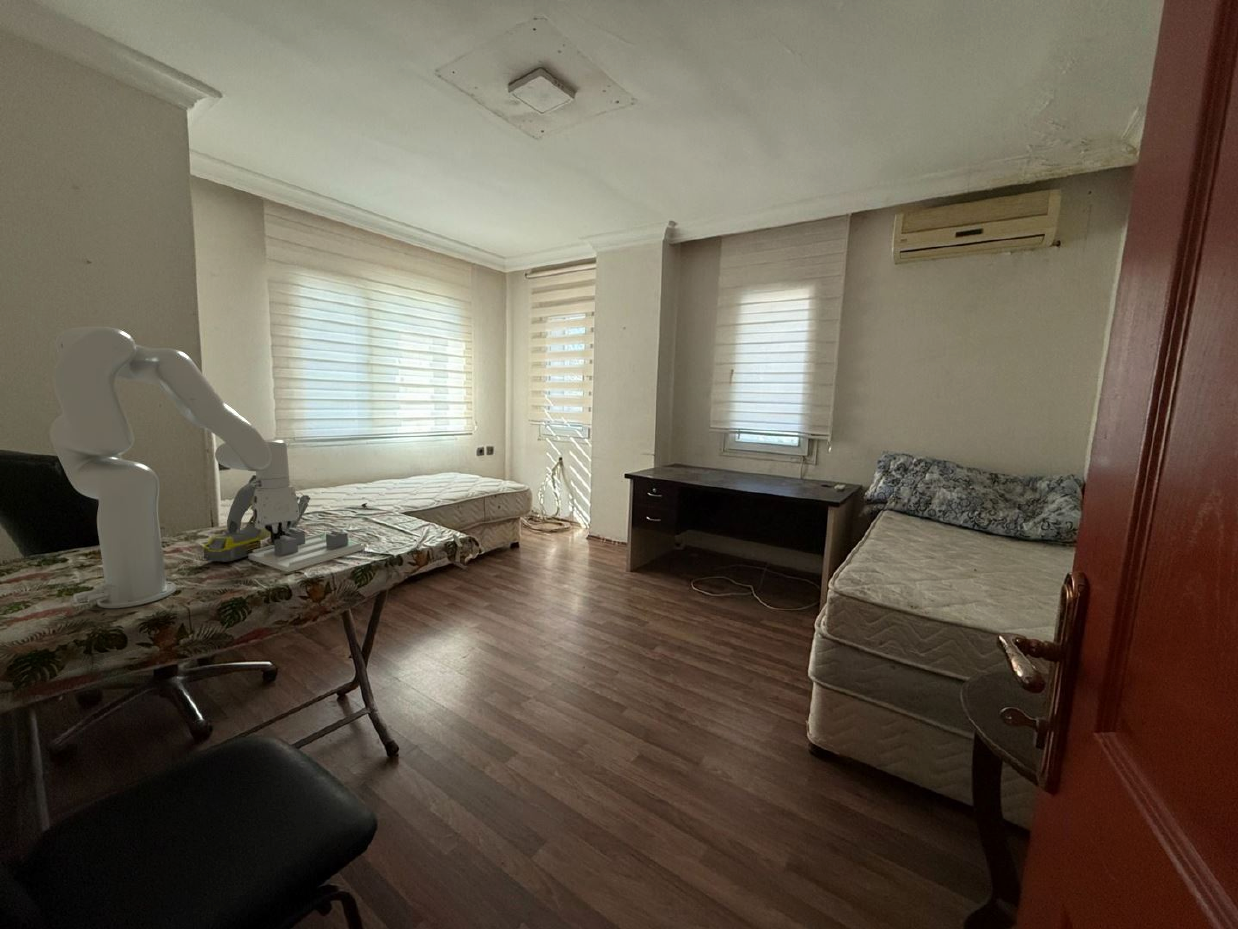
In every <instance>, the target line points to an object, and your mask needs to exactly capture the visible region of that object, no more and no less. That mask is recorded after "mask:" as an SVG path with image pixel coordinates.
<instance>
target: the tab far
mask: <svg viewBox="0 0 1238 929" xmlns="http://www.w3.org/2000/svg"><path fill="white" fill-rule="evenodd" d="M288 529H289V531H285V536H288V537H293V538H296V539H297V542H298V545H301V544H305V537H306V533H305V530H303V529H300V528H297V527H296V528H288Z"/></svg>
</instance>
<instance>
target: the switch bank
mask: <svg viewBox="0 0 1238 929" xmlns="http://www.w3.org/2000/svg"><path fill="white" fill-rule="evenodd" d="M365 549H366V548H365V544H364V543H362V542H357V541H352V540H349V538H348V546H345V547H341V548H338V549H334V550H330V549H327V546H326V533H325V532H321V533H317V534H316V533H315V534H314V535H313V534H312V535H309V536H305V544H301V545H298V552H297V553H293V554H290V555H286V556H282V557H278V556H275V550H274V545H273V544H272V545H267V546H263V547H261V548H259V549H255V550H252V552H253V553H250V554H248V556H247V557H248V560H250V561H253V562H257V563H258V564H262V565H265V566H267V567H271V568H274V569H276V570H280V571H282V572H285V573H290V572H293V571H296V570H300V569H304V568H307V567H311V566H313V565H316V564H321V563H323V562H327V561H331V560H333V559H336V558H341V557H344V556H346V555H351V554H353V553H357V552H360V551H361V552H362V551H364V550H365Z"/></svg>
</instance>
